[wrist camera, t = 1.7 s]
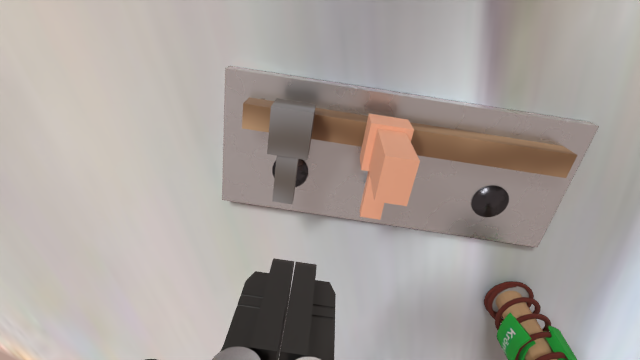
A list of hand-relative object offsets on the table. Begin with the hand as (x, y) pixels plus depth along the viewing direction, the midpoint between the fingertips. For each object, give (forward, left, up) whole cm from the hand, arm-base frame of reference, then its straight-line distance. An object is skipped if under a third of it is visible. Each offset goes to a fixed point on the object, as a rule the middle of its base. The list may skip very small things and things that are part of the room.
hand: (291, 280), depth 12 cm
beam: (+2, +7, -19) cm, 21 cm away
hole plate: (+3, +7, -20) cm, 22 cm away
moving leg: (+2, +5, -19) cm, 20 cm away
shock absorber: (+16, +22, -21) cm, 34 cm away
